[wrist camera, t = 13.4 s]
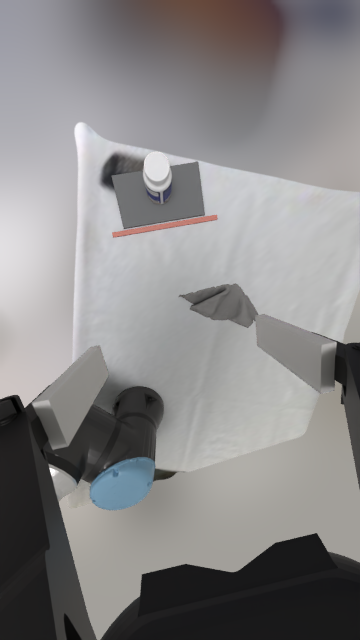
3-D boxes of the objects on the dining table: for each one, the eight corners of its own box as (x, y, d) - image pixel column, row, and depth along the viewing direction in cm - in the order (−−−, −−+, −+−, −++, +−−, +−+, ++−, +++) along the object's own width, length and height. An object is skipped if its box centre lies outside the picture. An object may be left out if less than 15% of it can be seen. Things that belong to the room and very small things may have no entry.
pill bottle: (166, 174, 41) (166, 142, 32) (174, 200, 43) (177, 178, 33) (142, 182, 41) (136, 153, 32) (151, 208, 43) (147, 188, 33)
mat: (124, 228, 44) (123, 228, 43) (112, 176, 41) (111, 175, 40) (204, 215, 44) (204, 214, 44) (197, 163, 42) (198, 161, 41)
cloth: (273, 306, 52) (278, 307, 50) (247, 345, 55) (250, 348, 52) (197, 259, 47) (199, 258, 45) (172, 304, 50) (172, 306, 48)
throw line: (113, 237, 44) (113, 237, 44) (112, 233, 44) (112, 232, 43) (216, 219, 45) (217, 219, 44) (216, 215, 45) (216, 214, 44)
